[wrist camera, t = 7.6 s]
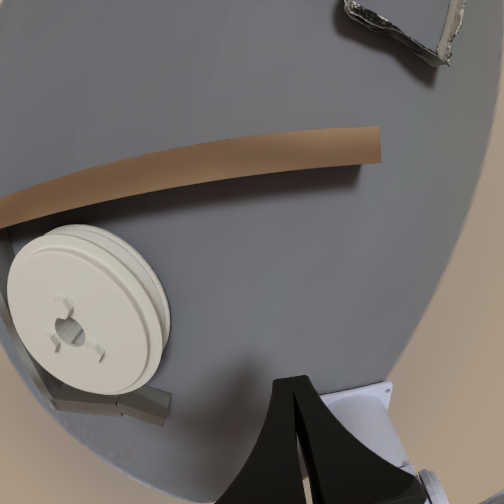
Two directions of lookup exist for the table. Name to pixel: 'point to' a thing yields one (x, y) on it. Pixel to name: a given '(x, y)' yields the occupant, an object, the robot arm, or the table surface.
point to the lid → (89, 309)
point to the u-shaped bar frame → (152, 179)
